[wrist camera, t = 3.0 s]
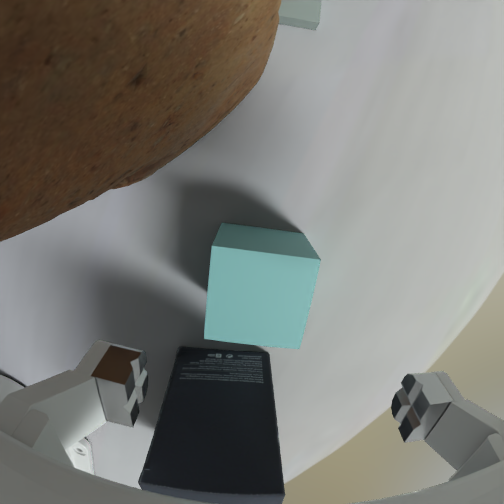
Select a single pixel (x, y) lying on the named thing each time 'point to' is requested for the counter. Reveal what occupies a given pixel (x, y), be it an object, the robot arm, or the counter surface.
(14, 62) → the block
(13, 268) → the counter surface
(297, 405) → the counter surface
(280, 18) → the square tile
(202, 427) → the small box
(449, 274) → the counter surface
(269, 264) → the teal cube
